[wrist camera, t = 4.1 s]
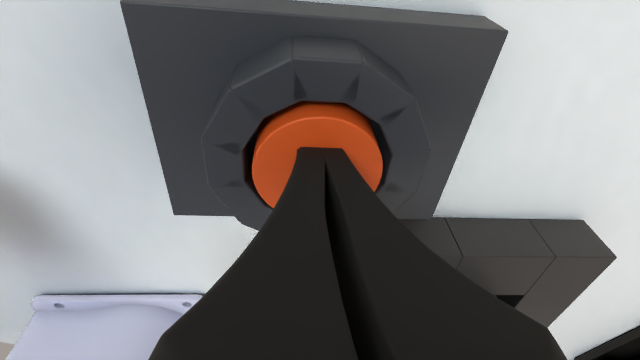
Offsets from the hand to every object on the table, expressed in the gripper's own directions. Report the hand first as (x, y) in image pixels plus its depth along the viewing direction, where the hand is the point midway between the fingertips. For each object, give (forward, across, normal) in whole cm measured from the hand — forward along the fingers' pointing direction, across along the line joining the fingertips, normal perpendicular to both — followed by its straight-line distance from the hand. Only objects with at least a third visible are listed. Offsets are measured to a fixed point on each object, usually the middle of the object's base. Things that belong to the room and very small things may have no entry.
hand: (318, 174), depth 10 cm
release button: (+2, 0, 0) cm, 2 cm away
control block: (+4, 0, 0) cm, 4 cm away
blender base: (+4, -10, +11) cm, 15 cm away
